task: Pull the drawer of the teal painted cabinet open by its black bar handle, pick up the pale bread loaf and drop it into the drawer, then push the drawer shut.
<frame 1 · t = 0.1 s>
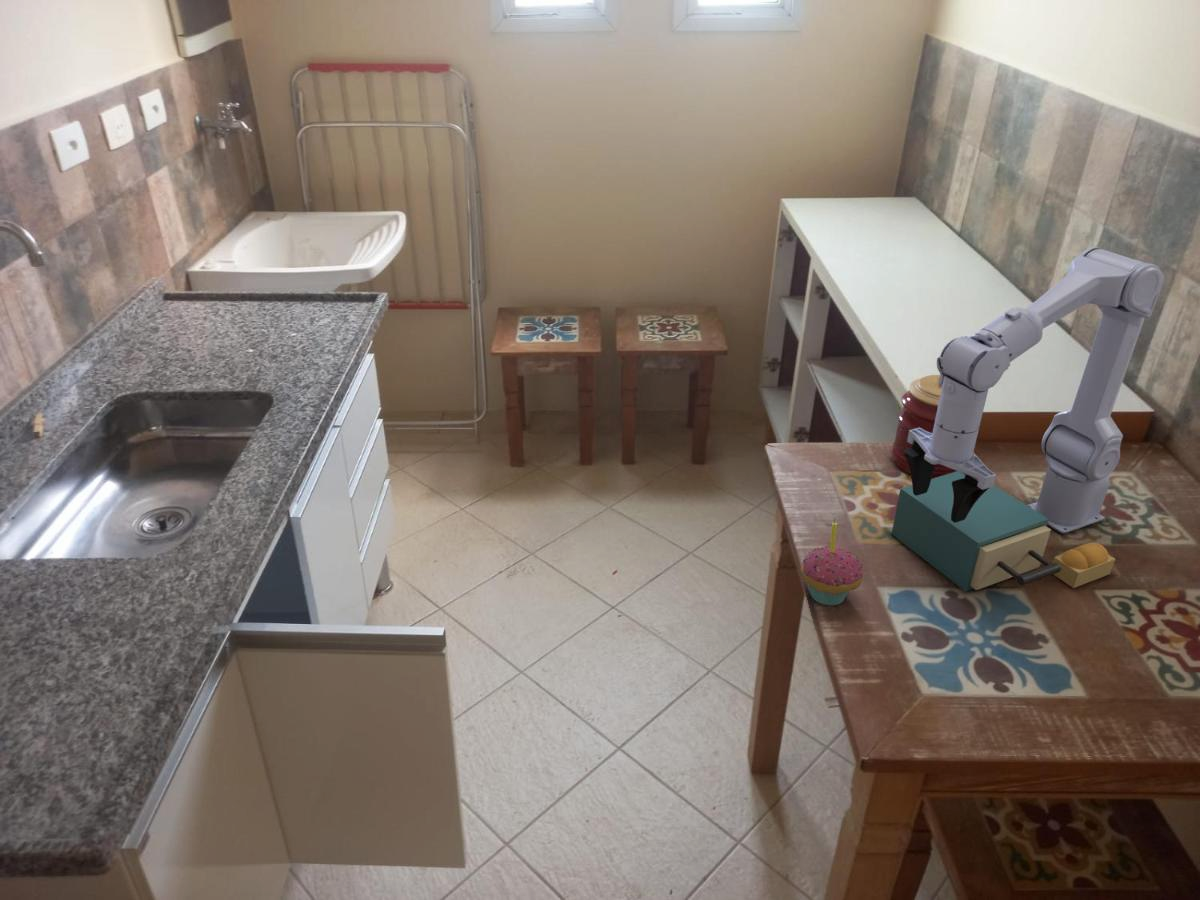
hand: (938, 506, 126), 10 cm above the table, tool pointing down, fingers open, 7 cm apart
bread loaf: (1079, 573, 129), on the table
cabinet: (960, 549, 134), on the table
kitchen canister: (928, 463, 157), on the table
drawer: (988, 541, 129), point 4 cm above the table, slide at 0.0 cm
cupcake: (828, 596, 125), on the table
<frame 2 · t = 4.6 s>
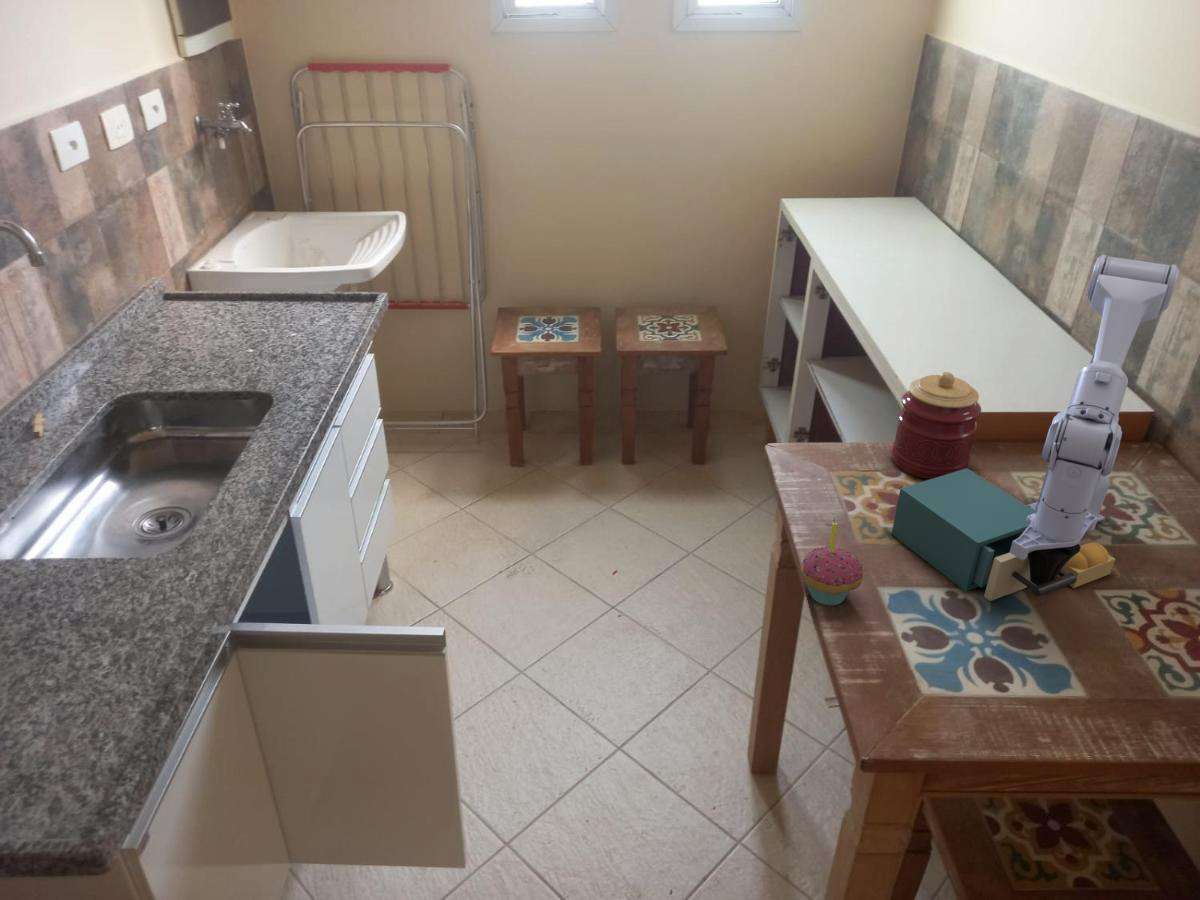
hand: (1039, 583, 122), 4 cm above the table, tool pointing down, fingers closed, pressing on drawer
drawer: (1001, 551, 127), point 4 cm above the table, slide at 2.6 cm, touching gripper
everything else where it was.
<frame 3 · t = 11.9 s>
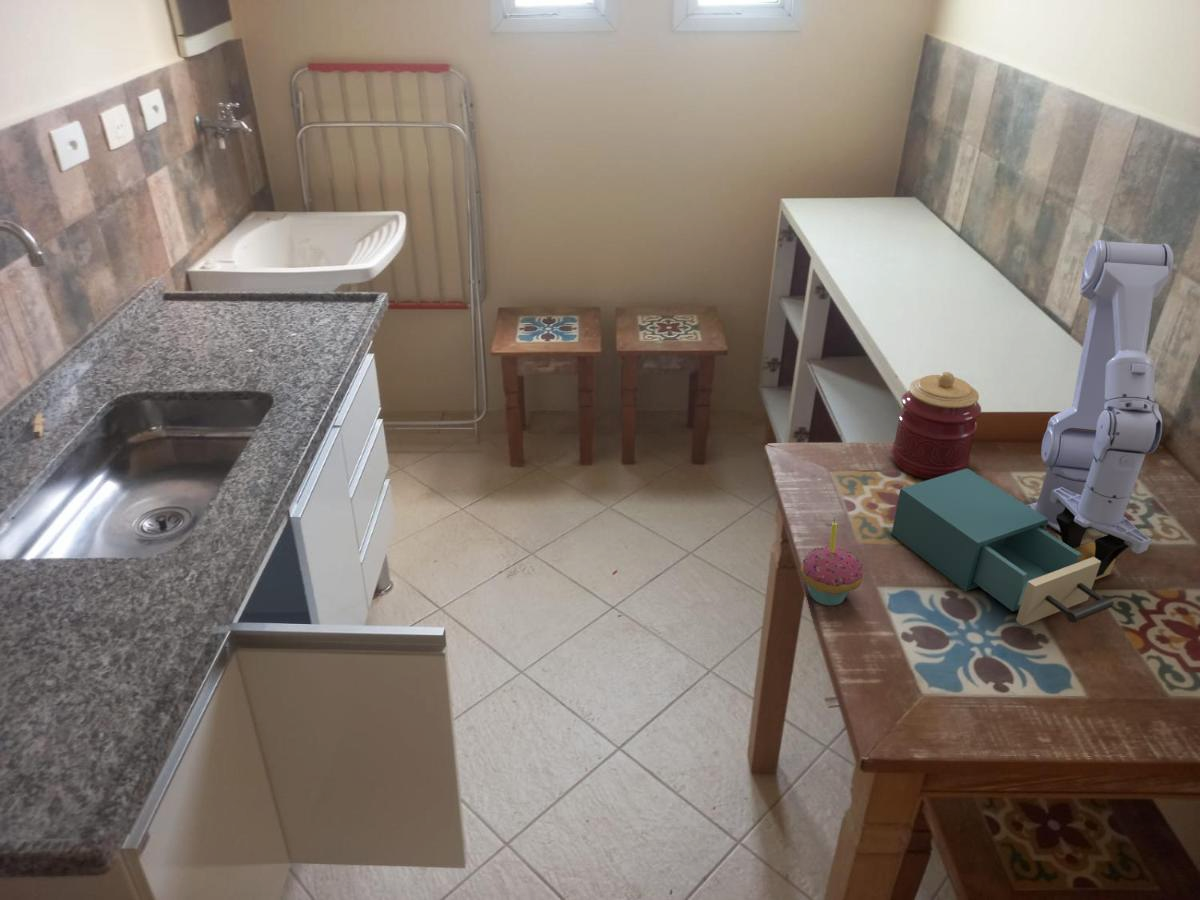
hand: (1082, 565, 128), 1 cm above the table, tool pointing down, fingers closed on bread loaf, 4 cm apart
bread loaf: (1079, 573, 129), on the table, touching gripper
drawer: (1033, 573, 122), point 4 cm above the table, slide at 8.3 cm
everything else where it was.
when the fingers open (6 cm above the table, at t = 16.4 s): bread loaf drops 2 cm, resting on drawer.
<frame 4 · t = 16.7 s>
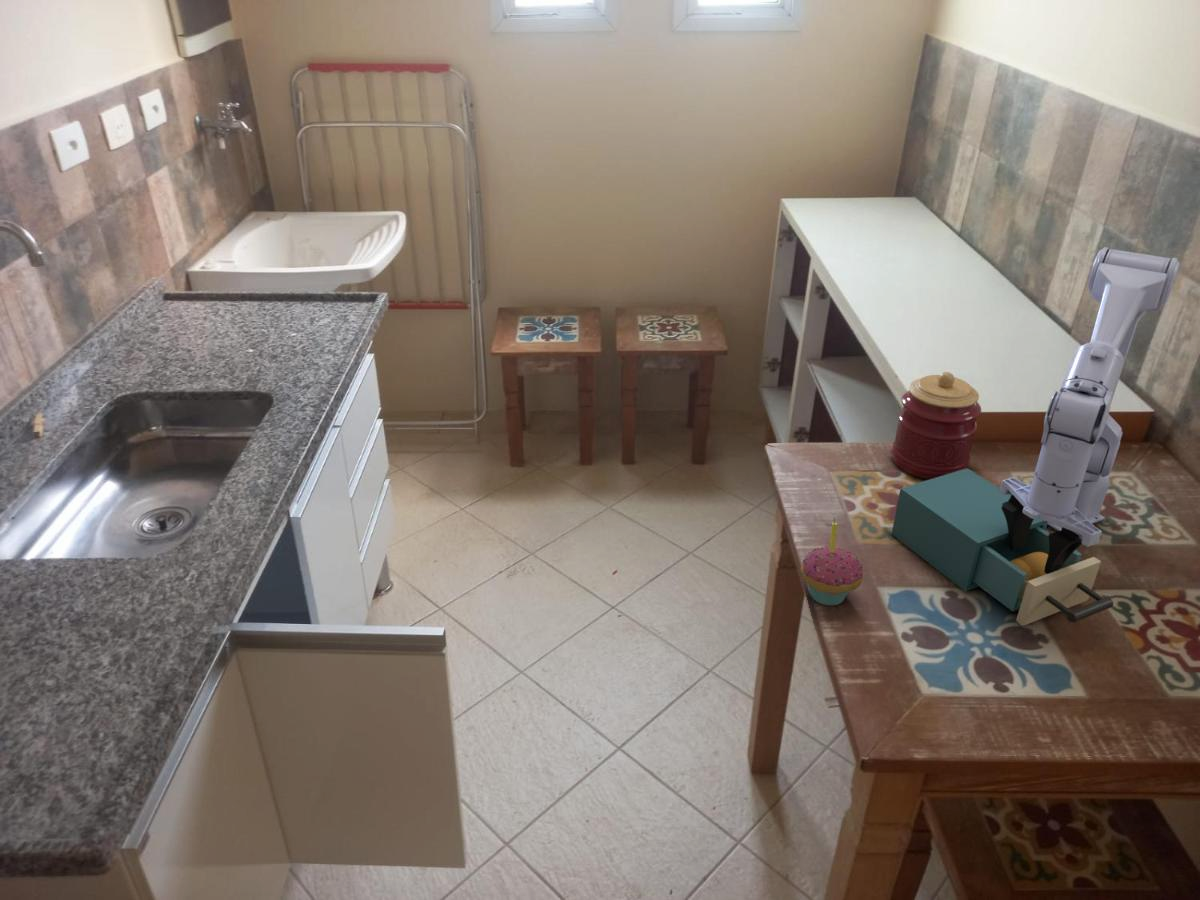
hand: (1033, 559, 122), 6 cm above the table, tool pointing down, fingers open, 5 cm apart
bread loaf: (1025, 583, 124), point 2 cm above the table, touching drawer
drawer: (1033, 573, 122), point 4 cm above the table, slide at 8.3 cm, touching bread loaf
everything else where it was.
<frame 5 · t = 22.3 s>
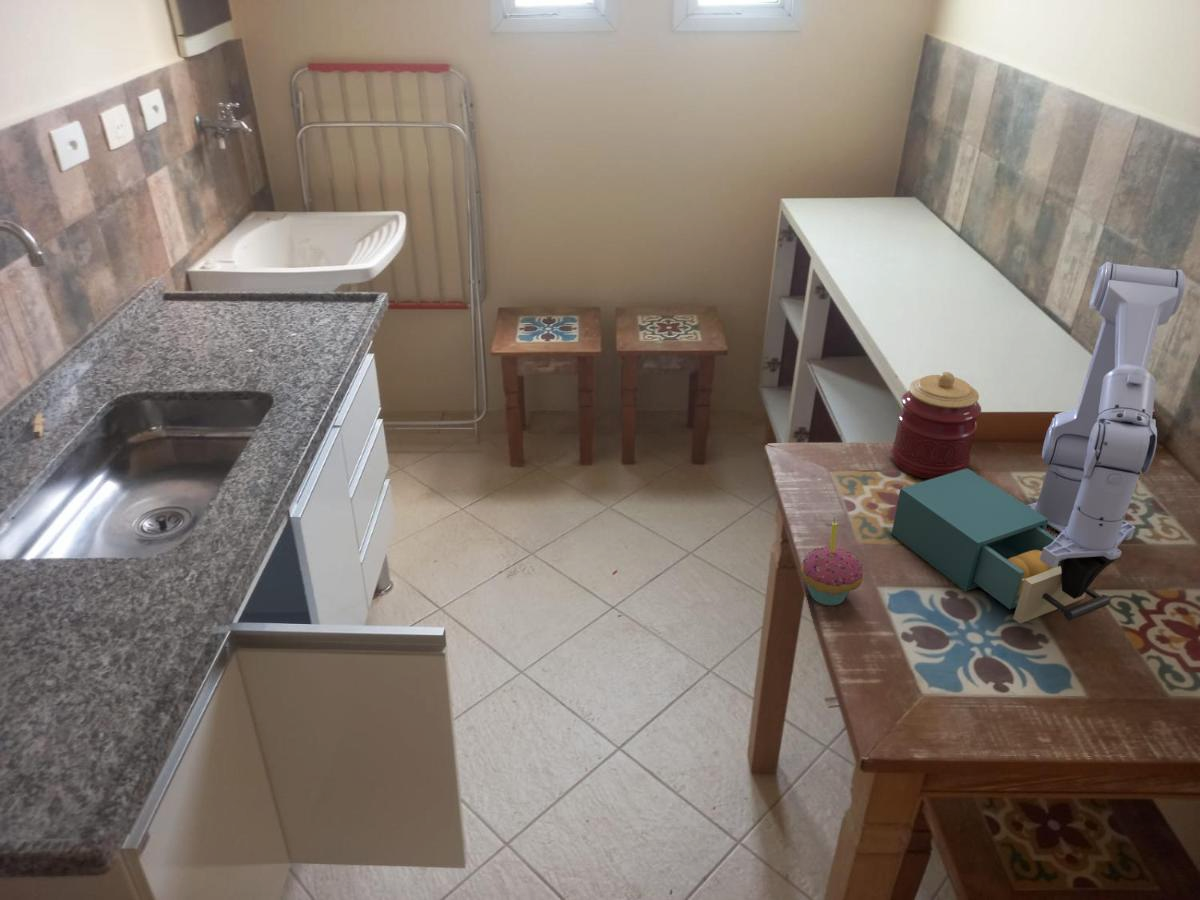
hand: (1071, 593, 117), 5 cm above the table, tool pointing down, fingers closed, pressing on drawer
drawer: (1030, 571, 123), point 4 cm above the table, slide at 7.8 cm, touching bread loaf, gripper
everything else where it was.
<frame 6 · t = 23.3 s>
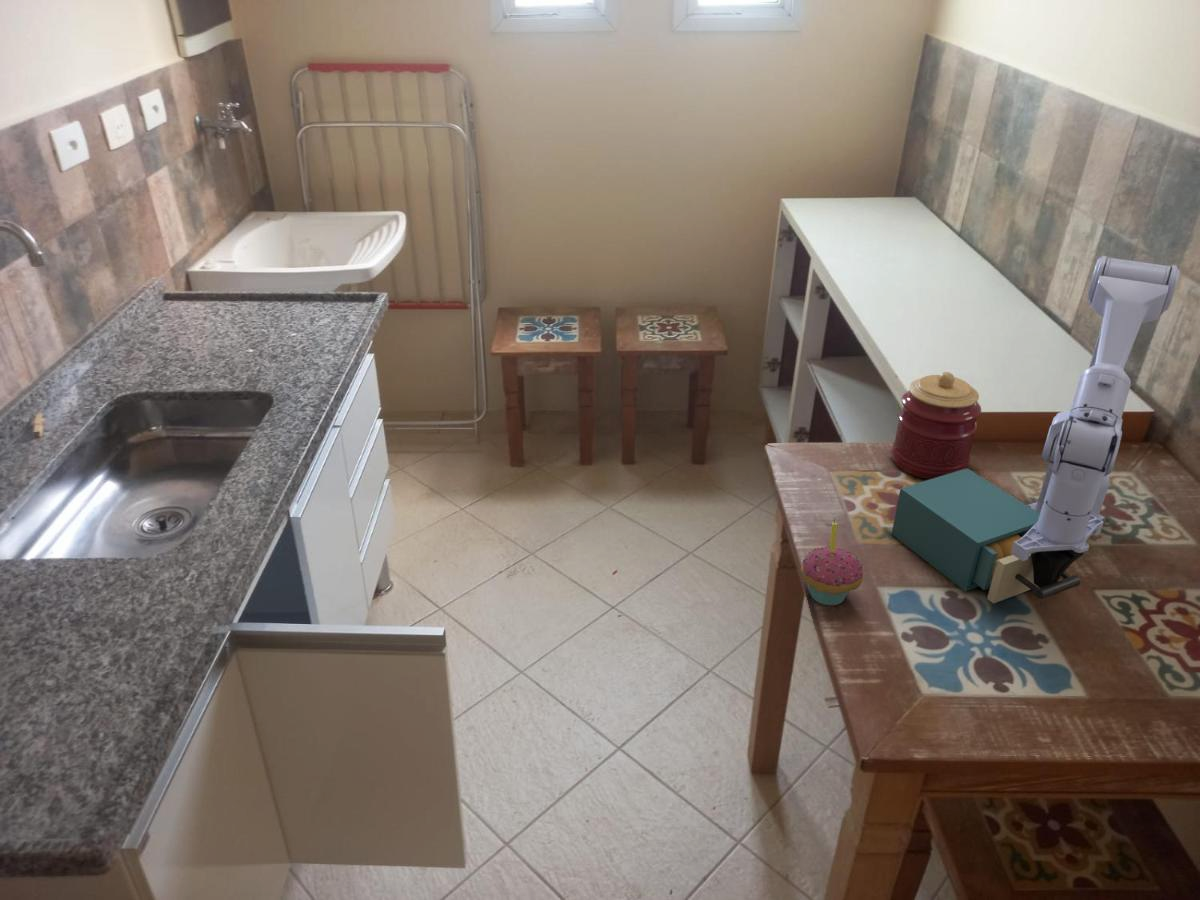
hand: (1042, 585, 121), 3 cm above the table, tool pointing down, fingers closed, pressing on drawer
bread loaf: (997, 563, 128), point 2 cm above the table, touching drawer
drawer: (1004, 553, 126), point 4 cm above the table, slide at 3.2 cm, touching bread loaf, gripper
everything else where it was.
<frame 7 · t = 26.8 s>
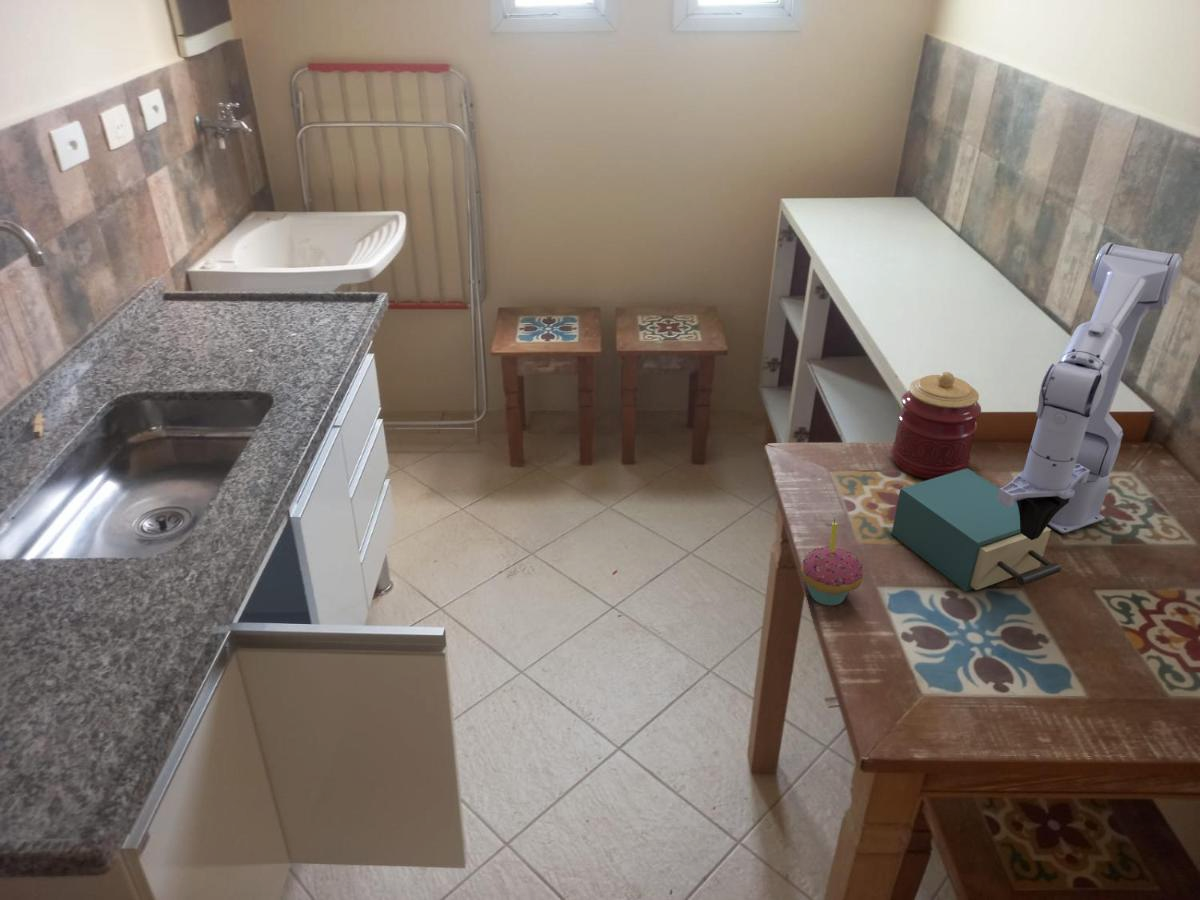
hand: (1029, 535, 121), 9 cm above the table, tool pointing down, fingers closed
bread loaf: (980, 551, 130), point 2 cm above the table, touching drawer
drawer: (988, 541, 129), point 4 cm above the table, slide at 0.0 cm, touching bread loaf, cabinet
everything else where it was.
at the end: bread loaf inside the target area in the cabinet (3.0 cm from its centre), point 2.0 cm above the cabinet's base; drawer slide at 0.0 cm; drawer pulled out 8.4 cm at the most during the clip, back to where it started at the end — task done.
